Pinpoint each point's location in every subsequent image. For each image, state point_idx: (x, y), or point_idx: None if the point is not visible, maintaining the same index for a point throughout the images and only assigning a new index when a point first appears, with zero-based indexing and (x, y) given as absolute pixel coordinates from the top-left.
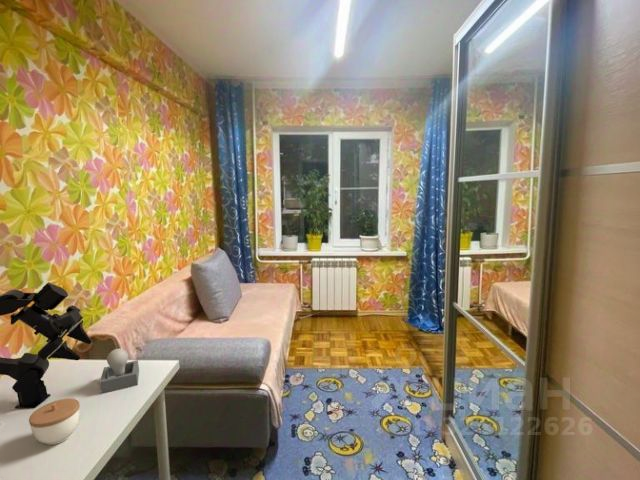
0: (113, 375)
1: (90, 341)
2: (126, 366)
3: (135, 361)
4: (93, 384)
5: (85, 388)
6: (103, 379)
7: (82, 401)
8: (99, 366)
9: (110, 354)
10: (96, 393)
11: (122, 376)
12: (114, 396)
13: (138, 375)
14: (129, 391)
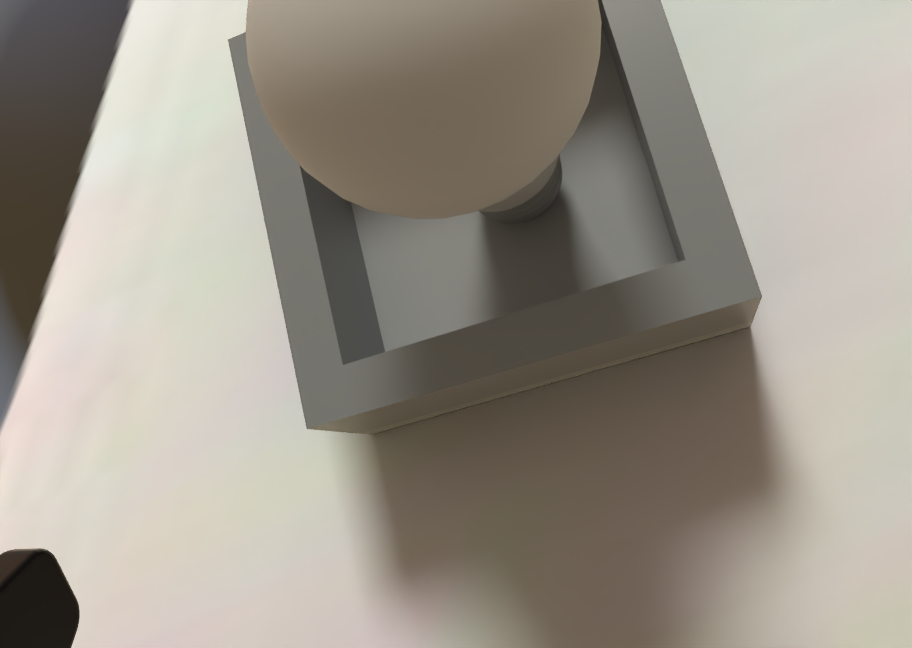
0: (377, 330)
1: (26, 575)
2: None
3: None
4: (487, 531)
5: (565, 598)
6: (682, 275)
7: (901, 500)
8: None
9: (478, 40)
10: (726, 396)
11: (651, 32)
12: (848, 133)
13: None
14: (760, 4)
